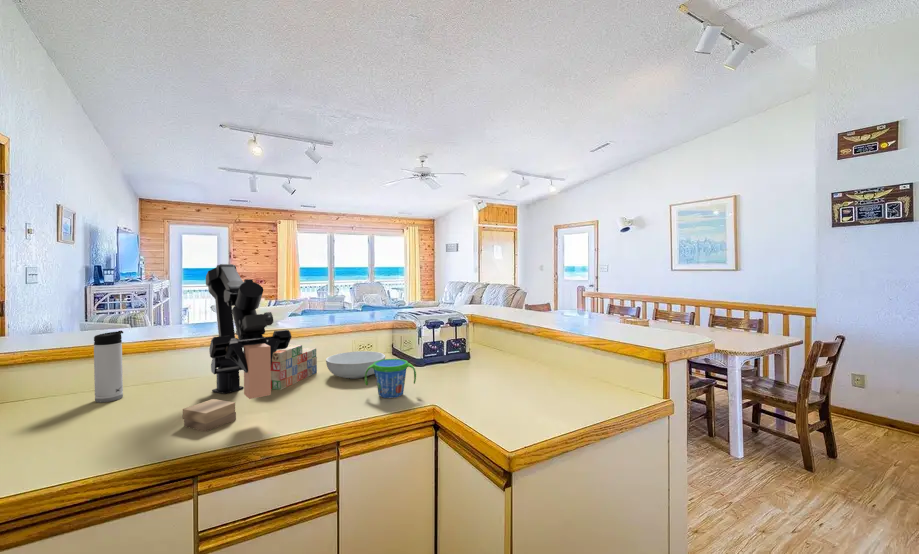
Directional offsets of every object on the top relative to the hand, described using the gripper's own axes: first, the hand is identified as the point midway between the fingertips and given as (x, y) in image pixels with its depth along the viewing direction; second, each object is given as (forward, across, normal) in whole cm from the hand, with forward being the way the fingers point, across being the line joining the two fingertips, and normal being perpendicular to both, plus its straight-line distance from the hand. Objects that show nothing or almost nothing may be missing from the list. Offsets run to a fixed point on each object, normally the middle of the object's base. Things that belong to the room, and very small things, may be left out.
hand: (258, 369), depth 101 cm
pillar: (+4, 0, +6) cm, 7 cm away
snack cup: (+12, +36, +7) cm, 39 cm away
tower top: (+3, -10, +13) cm, 17 cm away
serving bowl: (-7, +39, +27) cm, 48 cm away
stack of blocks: (-14, +19, +33) cm, 41 cm away
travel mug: (-24, -28, +43) cm, 57 cm away
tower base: (+5, -9, +15) cm, 18 cm away
